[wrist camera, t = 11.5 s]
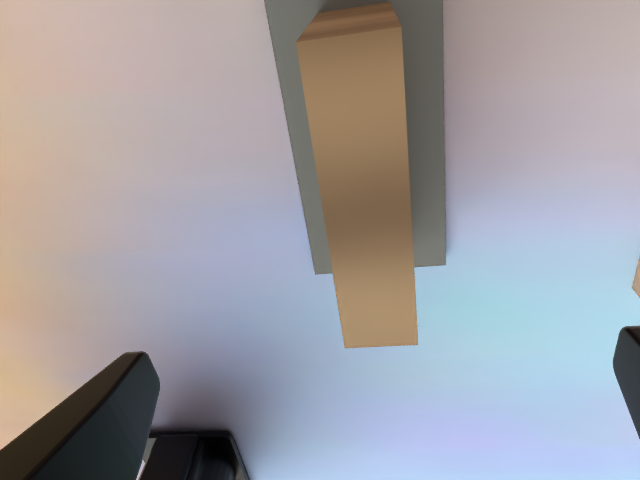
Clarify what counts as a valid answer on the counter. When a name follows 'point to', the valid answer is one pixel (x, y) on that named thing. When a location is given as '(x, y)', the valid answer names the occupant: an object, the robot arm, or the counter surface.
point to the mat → (421, 117)
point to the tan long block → (363, 168)
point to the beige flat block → (637, 280)
